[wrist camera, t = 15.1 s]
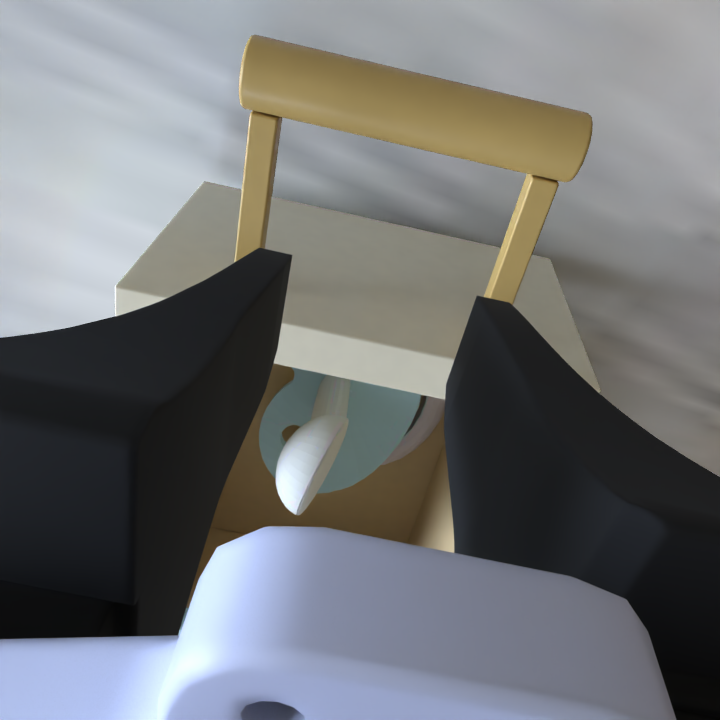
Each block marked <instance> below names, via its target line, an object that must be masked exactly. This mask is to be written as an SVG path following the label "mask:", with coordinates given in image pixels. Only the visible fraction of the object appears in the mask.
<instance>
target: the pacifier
mask: <svg viewBox="0 0 720 720" xmlns="http://www.w3.org/2000/svg"><path fill="white" fill-rule="evenodd" d="M292 369H293V370H294V374H295V375H294V379H293V380H292V381H290V382H289V383H287V384H286V385H284V386H283V387H282V388H281V389H280V390H279V391H278V392H277V393H276V394H275V396H274V397H273V399H272V400H271V402H270V403H269V405H268V406H267V408H266V410H265V413H264V415H263V417H262V420H261V425H260V430H259V447H260V451H261V455H262V459H263V460H264V462H265V465H266V467H267V469H268V470H269V471H270V473H271V474H272V475H273V477H274V478H275V479H276V487H277V491H278V494H279V497H280V499H281V501H282V502H283V504H284V505H285V506H286V508H287V509H288V510H290V511H291V512H292V513H294V514H295V515H300V514H301V513H303V511H304V510H305V509H306V508H307V507H308V505H309V504H310V502H311V501H312V500H313V498H314V497H315V495H316V494H318V493H329V492H332V491H335V490H341V489H344V488H347V487H350V486H352V485H354V484H356V483H357V482H359V481H361V480H363V479H364V478H366V477H367V476H368V475H370V474H371V473H372V472H373V471H374V470H376V469H377V468H378V467H379V466H380V465H385V464H388V463H390V462H393V461H396V460H399V459H401V458H403V457H404V456H406V455H407V454H409V453H410V452H412V451H414V450H415V449H416V448H417V447H418V446H419V445H421V444H422V443H423V442H424V441H425V440H426V439H427V438H428V437H429V436H430V434H431V433H432V431H433V430H434V428H435V427H436V426H437V424H438V423H439V421H440V420H441V418H442V415H443V413H444V411H445V399H440V398H435V397H430V396H426V395H424V397H423V400H422V402H421V405H420V407H419V404H420V399H421V394H416V393H411V392H407V391H402V390H397V389H392V388H388V387H383V386H378V385H374V384H369V383H364V382H359V381H355V380H350V379H345V378H340V377H336V376H331V375H326V374H322V373H317V372H312V371H307V370H303V369H298V368H293V367H292ZM418 407H419V409H418ZM417 409H418V410H417ZM290 425H298V426H300V428H299V429H297V430H296V431H295V432H294V433H293V435H292V436H291V437H290V438H289V440H288V441H287V442H286V441H285V440H284V439H283V437H282V431H283V430H284V429H285V428H286V427H288V426H290Z"/></svg>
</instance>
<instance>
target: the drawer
mask: <svg viewBox="0 0 720 720" xmlns="http://www.w3.org/2000/svg"><path fill="white" fill-rule="evenodd" d="M239 98H240V104H241V106H242V107H243V108H245V109H248V110H253V111H252V112H251V113H250V116H249V126H248V136H247V145H246V155H245V164H244V174H243V183H242V190H241V189H236V188H232V187H227V186H223V185H218V184H214V183H210V182H203V183H202V184H201V185H200V187H199V188H198V189H197V190H196V191H195V192H194V194H193V195H192V196H191V197H190V198H189V200H188V201H187V202H186V203H185V204H184V205H183V207H182V208H181V209H180V210H179V211H178V213H177V214H176V215H175V216H174V217H173V218H172V220H171V221H170V222H169V223H168V224H167V226H166V227H165V228H164V229H163V230H162V231H161V233H160V234H159V235H158V236H157V237H156V239H155V240H154V241H153V242H152V243H151V245H150V246H149V247H148V248H147V249H146V250H145V252H144V253H143V254H142V255H141V256H140V258H139V259H138V260H137V261H136V262H135V263H134V265H133V266H132V267H131V268H130V269H129V271H128V272H127V273H126V274H125V275H124V276H123V278H122V279H121V280H120V281H119V282H118V284H117V285H116V286H115V316H119V315H122V314H125V313H128V312H131V311H134V310H137V309H140V308H143V307H146V306H149V305H151V304H154V303H156V302H159V301H161V300H164V299H166V298H169V297H171V296H173V295H175V294H177V293H179V292H181V291H183V290H185V289H187V288H189V287H191V286H193V285H195V284H198V283H200V282H202V281H204V280H206V279H207V278H209V277H211V276H213V275H214V274H216V273H218V272H220V271H221V270H223V269H225V268H226V267H228V266H230V265H231V264H233V263H234V262H236V261H238V260H239V259H241V258H243V257H244V256H246V255H248V254H249V253H251V252H252V251H254V250H256V249H258V248H263V249H268V250H273V251H277V252H282V253H286V254H291V255H292V261H291V267H290V273H289V280H288V286H287V292H286V299H285V305H284V311H283V318H282V324H281V330H280V336H279V343H278V349H277V352H276V356H275V359H274V363H273V367H272V370H271V374H270V377H269V381H268V384H267V387H266V391H265V393H264V395H263V398H262V400H261V402H260V405H259V407H258V409H257V412H256V414H255V416H254V418H253V421H252V423H251V425H250V428H249V430H248V432H247V434H246V437H245V439H244V441H243V443H242V446H241V448H240V450H239V453H238V455H237V457H236V459H235V462H234V464H233V466H232V468H231V471H230V473H229V475H228V478H227V480H226V483H225V485H224V488H223V490H222V493H221V496H220V498H219V501H218V505H217V508H216V511H215V514H214V517H213V521H212V524H211V527H210V530H209V533H208V537H207V540H206V543H205V546H204V550H203V553H202V556H201V560H200V563H199V566H198V569H197V573H196V576H195V579H194V583H193V586H192V589H191V593H190V596H189V599H188V603H187V606H186V607H187V608H189V606H190V603H191V600H192V597H193V594H194V591H195V589H196V586H197V583H198V580H199V578H200V576H201V574H202V573H203V571H204V569H205V568H206V566H207V564H208V562H209V561H210V559H211V557H212V555H213V554H214V552H215V550H216V548H217V547H218V546H221V545H223V544H225V543H228V542H230V541H232V540H235V539H237V538H239V537H242V536H244V535H246V534H249V533H251V532H253V531H256V530H258V529H260V528H263V527H268V526H295V527H327V528H332V529H337V530H342V531H347V532H352V533H357V534H362V535H367V536H372V537H377V538H382V539H387V540H392V541H397V542H402V543H407V544H412V545H417V546H422V547H427V548H432V549H437V550H442V551H447V552H452V553H454V530H453V517H452V507H451V497H450V487H449V478H448V468H447V457H446V447H445V436H444V413H443V415H442V418H441V420H440V421H439V423H438V424H437V426H436V427H435V428H434V430H433V431H432V433H431V434H430V436H429V437H428V438H427V439H426V440H425V441H424V442H423V443H422V444H421V445H419V446H418V447H417V448H416V449H415V450H414V451H412V452H410V453H409V454H407V455H406V456H404V457H403V458H401V459H399V460H396V461H393V462H390V463H388V464H385V465H380V466H379V467H378V468H377V469H376V470H374V471H373V472H372V473H371V474H370V475H368V476H367V477H366V478H364V479H363V480H361V481H359V482H357V483H356V484H354V485H352V486H350V487H347V488H344V489H341V490H335V491H332V492H329V493H318V494H316V495H315V497H314V498H313V500H312V501H311V502H310V504H309V505H308V507H307V508H306V509H305V510H304V511H303V513H301V514H300V515H295V514H294V513H292V512H291V511H290V510H288V509H287V508H286V506H285V505H284V504H283V502H282V501H281V499H280V497H279V494H278V491H277V487H276V479H275V478H274V477H273V475H272V474H271V473H270V471H269V470H268V469H267V467H266V465H265V462H264V460H263V459H262V455H261V451H260V447H259V430H260V425H261V420H262V417H263V415H264V413H265V410H266V408H267V406H268V405H269V403H270V402H271V400H272V399H273V397H274V396H275V394H276V393H277V392H278V391H279V390H280V389H281V388H282V387H283V386H284V385H286V384H287V383H289V382H290V381H292V380H293V379H294V375H295V374H294V370H293V369H292V367H293V368H298V369H303V370H307V371H312V372H317V373H322V374H326V375H331V376H336V377H340V378H345V379H350V380H355V381H359V382H364V383H369V384H374V385H378V386H383V387H388V388H392V389H397V390H402V391H407V392H411V393H416V394H421V399H420V404H419V407H420V405H421V402H422V400H423V397H424V395H426V396H430V397H435V398H440V399H445V393H446V383H447V380H448V377H449V374H450V371H451V368H452V366H453V363H454V360H455V357H456V354H457V351H458V348H459V345H460V342H461V340H462V337H463V334H464V331H465V328H466V325H467V322H468V319H469V316H470V314H471V311H472V308H473V305H474V302H475V299H476V296H482V297H486V298H491V299H495V300H500V301H504V302H509V303H510V304H512V305H513V306H514V307H515V308H516V309H517V310H518V311H519V312H520V313H521V314H522V315H523V316H524V317H525V318H526V319H527V320H528V321H529V323H530V324H531V325H532V326H533V327H534V328H535V329H536V330H537V331H538V332H539V334H540V335H541V336H542V337H543V338H544V339H545V340H546V341H547V342H548V343H549V344H550V345H551V347H552V348H553V349H554V350H555V351H556V352H557V353H558V354H559V355H560V356H561V357H562V358H563V359H564V360H565V361H566V362H567V363H568V364H569V365H570V366H571V367H572V368H573V369H574V370H575V371H576V372H577V373H578V374H579V375H580V376H581V377H582V378H583V379H584V380H585V381H586V382H588V383H589V384H590V385H591V386H592V387H593V388H594V389H595V390H596V391H597V392H598V393H599V394H600V392H601V389H600V386H599V384H598V381H597V379H596V376H595V374H594V371H593V368H592V366H591V363H590V361H589V358H588V356H587V353H586V350H585V348H584V345H583V343H582V340H581V338H580V335H579V332H578V330H577V327H576V325H575V322H574V320H573V317H572V314H571V312H570V309H569V307H568V304H567V301H566V299H565V296H564V294H563V291H562V289H561V286H560V283H559V281H558V278H557V276H556V273H555V271H554V268H553V265H552V263H551V260H550V259H549V258H544V257H540V256H536V255H532V253H533V251H534V248H535V245H536V243H537V240H538V238H539V235H540V232H541V230H542V227H543V225H544V222H545V219H546V217H547V214H548V212H549V209H550V206H551V204H552V201H553V199H554V196H555V193H556V191H557V188H558V186H559V185H558V182H557V181H561V182H569V181H571V180H572V179H573V178H574V177H575V176H576V174H577V173H578V171H579V170H580V168H581V166H582V164H583V162H584V159H585V157H586V154H587V151H588V148H589V145H590V141H591V135H592V125H593V124H592V117H591V116H590V115H589V114H588V113H585V112H581V111H577V110H572V109H568V108H564V107H560V106H555V105H551V104H547V103H543V102H538V101H534V100H530V99H526V98H521V97H517V96H513V95H509V94H504V93H500V92H496V91H492V90H487V89H483V88H479V87H475V86H470V85H466V84H462V83H458V82H453V81H449V80H445V79H441V78H436V77H432V76H428V75H424V74H420V73H415V72H411V71H407V70H403V69H398V68H394V67H390V66H386V65H381V64H377V63H373V62H369V61H364V60H360V59H356V58H352V57H347V56H343V55H339V54H335V53H330V52H326V51H322V50H318V49H313V48H309V47H305V46H301V45H296V44H292V43H288V42H284V41H280V40H275V39H271V38H267V37H263V36H258V35H252V36H251V37H250V38H249V40H248V42H247V44H246V47H245V50H244V54H243V58H242V63H241V69H240V78H239ZM282 117H283V118H287V119H292V120H296V121H301V122H305V123H309V124H314V125H318V126H322V127H327V128H331V129H335V130H340V131H344V132H348V133H353V134H357V135H361V136H366V137H370V138H374V139H379V140H383V141H387V142H392V143H396V144H400V145H405V146H409V147H414V148H418V149H422V150H427V151H431V152H435V153H440V154H444V155H448V156H453V157H457V158H461V159H466V160H470V161H474V162H479V163H483V164H487V165H492V166H496V167H500V168H505V169H509V170H514V171H518V172H522V173H527V175H526V178H525V181H524V184H523V187H522V190H521V192H520V195H519V198H518V201H517V204H516V207H515V209H514V212H513V215H512V218H511V221H510V224H509V226H508V229H507V232H506V235H505V238H504V241H503V243H502V246H501V248H500V247H495V246H491V245H486V244H482V243H477V242H473V241H469V240H464V239H460V238H455V237H451V236H446V235H442V234H437V233H433V232H428V231H424V230H419V229H415V228H410V227H406V226H402V225H397V224H393V223H388V222H384V221H379V220H375V219H370V218H366V217H361V216H357V215H352V214H348V213H344V212H339V211H335V210H330V209H326V208H321V207H317V206H312V205H308V204H303V203H299V202H294V201H290V200H285V199H281V198H277V197H272V191H273V183H274V176H275V168H276V160H277V153H278V145H279V138H280V130H281V123H282ZM419 407H418V409H419ZM418 409H417V410H418ZM299 428H300V426H298V425H290V426H288V427H286V428H285V429H284V430H283V431H282V437H283V439H284V440H285V441H286V442H287V441H288V440H289V438H290V437H291V436H292V435H293V433H294V432H295V431H296V430H297V429H299Z"/></svg>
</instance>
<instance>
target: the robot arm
mask: <svg viewBox="0 0 720 720" xmlns="http://www.w3.org/2000/svg"><path fill="white" fill-rule="evenodd" d="M291 261H292V255H291V254H286V253H282V252H277V251H273V250H268V249H263V248H258V249H256V250H254V251H252V252H251V253H249V254H248V255H246V256H244V257H243V258H241V259H239V260H238V261H236V262H234V263H233V264H231V265H230V266H228V267H226V268H225V269H223V270H221V271H220V272H218V273H216V274H214V275H213V276H211V277H209V278H207V279H206V280H204V281H202V282H200V283H198V284H195V285H193V286H191V287H189V288H187V289H185V290H183V291H181V292H179V293H177V294H175V295H173V296H171V297H169V298H166V299H164V300H161V301H159V302H156V303H154V304H151V305H149V306H146V307H143V308H140V309H137V310H134V311H131V312H128V313H125V314H122V315H119V316H115V317H111V318H107V319H103V320H99V321H95V322H91V323H87V324H83V325H78V326H74V327H70V328H65V329H60V330H54V331H48V332H42V333H35V334H28V335H20V336H13V337H4V338H0V720H720V477H719V476H717V475H715V474H714V473H712V472H710V471H709V470H707V469H705V468H703V467H702V466H700V465H698V464H697V463H695V462H693V461H692V460H690V459H688V458H687V457H685V456H684V455H682V454H681V453H679V452H678V451H676V450H675V449H673V448H671V447H670V446H668V445H667V444H665V443H664V442H662V441H661V440H659V439H658V438H656V437H655V436H653V435H652V434H650V433H649V432H648V431H646V430H645V429H643V428H642V427H641V426H639V425H638V424H637V423H635V422H634V421H633V420H632V419H630V418H629V417H628V416H626V415H625V414H624V413H623V412H621V411H620V410H619V409H617V408H616V407H615V406H614V405H612V404H611V403H610V402H609V401H608V400H606V399H605V398H604V397H603V396H602V395H601V394H599V393H598V392H597V391H596V390H595V389H594V388H593V387H592V386H591V385H590V384H589V383H588V382H586V381H585V380H584V379H583V378H582V377H581V376H580V375H579V374H578V373H577V372H576V371H575V370H574V369H573V368H572V367H571V366H570V365H569V364H568V363H567V362H566V361H565V360H564V359H563V358H562V357H561V356H560V355H559V354H558V353H557V352H556V351H555V350H554V349H553V348H552V347H551V345H550V344H549V343H548V342H547V341H546V340H545V339H544V338H543V337H542V336H541V335H540V334H539V332H538V331H537V330H536V329H535V328H534V327H533V326H532V325H531V324H530V323H529V321H528V320H527V319H526V318H525V317H524V316H523V315H522V314H521V313H520V312H519V311H518V310H517V309H516V308H515V307H514V306H513V305H512V304H510V303H509V302H504V301H500V300H495V299H491V298H486V297H482V296H476V299H475V302H474V305H473V308H472V311H471V314H470V316H469V319H468V322H467V325H466V328H465V331H464V334H463V337H462V340H461V342H460V345H459V348H458V351H457V354H456V357H455V360H454V363H453V366H452V368H451V371H450V374H449V377H448V380H447V383H446V393H445V411H444V436H445V447H446V457H447V468H448V478H449V487H450V497H451V507H452V517H453V530H454V553H452V552H447V551H442V550H437V549H432V548H427V547H422V546H417V545H412V544H407V543H402V542H397V541H392V540H387V539H382V538H377V537H372V536H367V535H362V534H357V533H352V532H347V531H342V530H337V529H332V528H327V527H295V526H268V527H263V528H260V529H258V530H256V531H253V532H251V533H249V534H246V535H244V536H242V537H239V538H237V539H235V540H232V541H230V542H228V543H225V544H223V545H221V546H218V547H217V548H216V550H215V552H214V554H213V555H212V557H211V559H210V561H209V562H208V564H207V566H206V568H205V569H204V571H203V573H202V574H201V576H200V578H199V580H198V583H197V586H196V589H195V591H194V594H193V597H192V600H191V603H190V606H189V609H188V612H187V615H186V618H185V621H184V624H183V627H182V630H181V633H180V635H178V634H179V630H180V627H181V623H182V620H183V617H184V613H185V610H186V606H187V603H188V599H189V596H190V593H191V589H192V586H193V583H194V579H195V576H196V573H197V569H198V566H199V563H200V560H201V556H202V553H203V550H204V546H205V543H206V540H207V537H208V533H209V530H210V527H211V524H212V521H213V517H214V514H215V511H216V508H217V505H218V501H219V498H220V496H221V493H222V490H223V488H224V485H225V483H226V480H227V478H228V475H229V473H230V471H231V468H232V466H233V464H234V462H235V459H236V457H237V455H238V453H239V450H240V448H241V446H242V443H243V441H244V439H245V437H246V434H247V432H248V430H249V428H250V425H251V423H252V421H253V418H254V416H255V414H256V412H257V409H258V407H259V405H260V402H261V400H262V398H263V395H264V393H265V391H266V387H267V384H268V381H269V377H270V374H271V370H272V367H273V363H274V359H275V356H276V352H277V349H278V343H279V336H280V330H281V324H282V318H283V311H284V305H285V299H286V292H287V286H288V280H289V273H290V267H291Z"/></svg>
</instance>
